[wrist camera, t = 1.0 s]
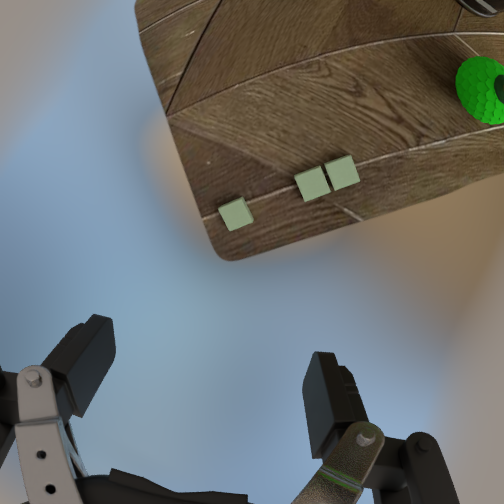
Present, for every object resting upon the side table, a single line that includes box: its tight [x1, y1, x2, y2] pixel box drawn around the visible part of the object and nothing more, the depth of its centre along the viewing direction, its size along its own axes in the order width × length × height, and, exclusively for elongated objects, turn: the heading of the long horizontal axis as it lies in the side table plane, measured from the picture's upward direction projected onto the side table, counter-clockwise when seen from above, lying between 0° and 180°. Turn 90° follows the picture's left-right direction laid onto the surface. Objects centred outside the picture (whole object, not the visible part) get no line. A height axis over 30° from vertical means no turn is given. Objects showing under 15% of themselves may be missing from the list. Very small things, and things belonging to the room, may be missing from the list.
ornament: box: [455, 56, 504, 124], centre depth 20 cm, size 8×8×10 cm
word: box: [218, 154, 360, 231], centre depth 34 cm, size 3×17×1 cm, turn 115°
